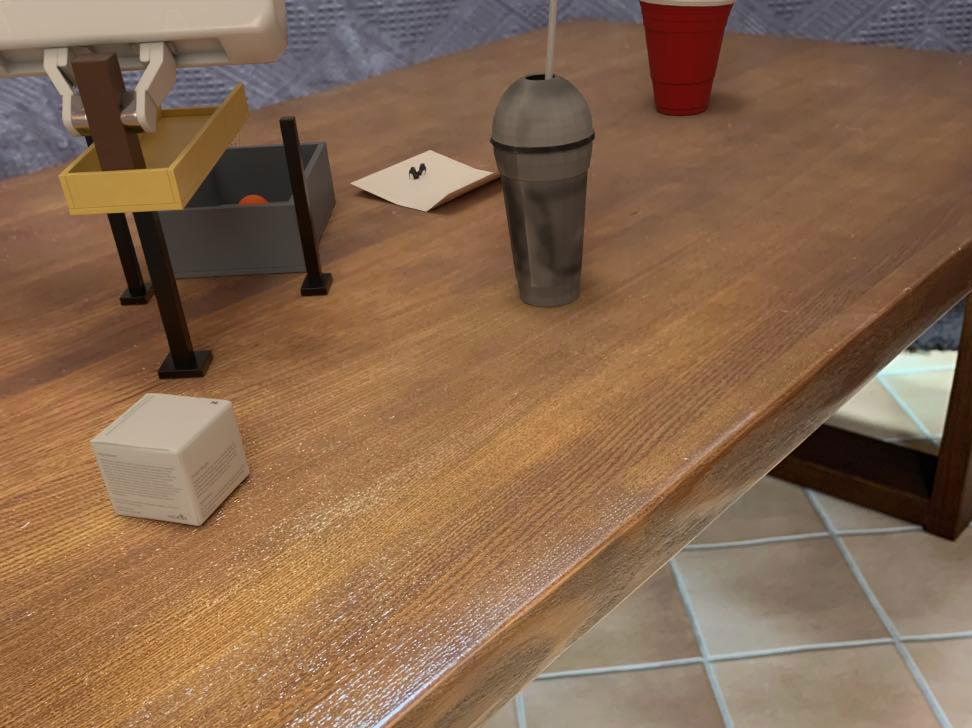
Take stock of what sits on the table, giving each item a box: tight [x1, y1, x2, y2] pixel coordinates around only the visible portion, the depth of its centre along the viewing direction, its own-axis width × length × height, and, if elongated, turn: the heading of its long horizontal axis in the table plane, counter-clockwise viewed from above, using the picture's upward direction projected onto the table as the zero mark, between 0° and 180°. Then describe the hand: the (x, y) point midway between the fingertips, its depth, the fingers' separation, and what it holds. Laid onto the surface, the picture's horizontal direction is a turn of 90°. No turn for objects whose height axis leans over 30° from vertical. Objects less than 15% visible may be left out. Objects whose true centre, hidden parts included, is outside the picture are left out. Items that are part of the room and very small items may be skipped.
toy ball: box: [238, 195, 269, 205], centre depth 93 cm, size 3×3×3 cm
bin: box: [158, 141, 336, 280], centre depth 92 cm, size 17×11×6 cm, turn 1°
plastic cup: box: [638, 0, 738, 116], centre depth 118 cm, size 11×11×12 cm
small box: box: [89, 392, 251, 527], centre depth 59 cm, size 6×6×5 cm
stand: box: [84, 115, 333, 380], centre depth 75 cm, size 16×16×13 cm
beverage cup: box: [489, 0, 596, 308], centre depth 75 cm, size 7×7×20 cm
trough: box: [58, 52, 251, 216], centre depth 70 cm, size 20×7×8 cm, turn 1°
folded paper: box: [349, 149, 501, 213], centre depth 102 cm, size 12×12×2 cm
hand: (109, 130), depth 62 cm, fingers closed on trough, 2 cm apart
